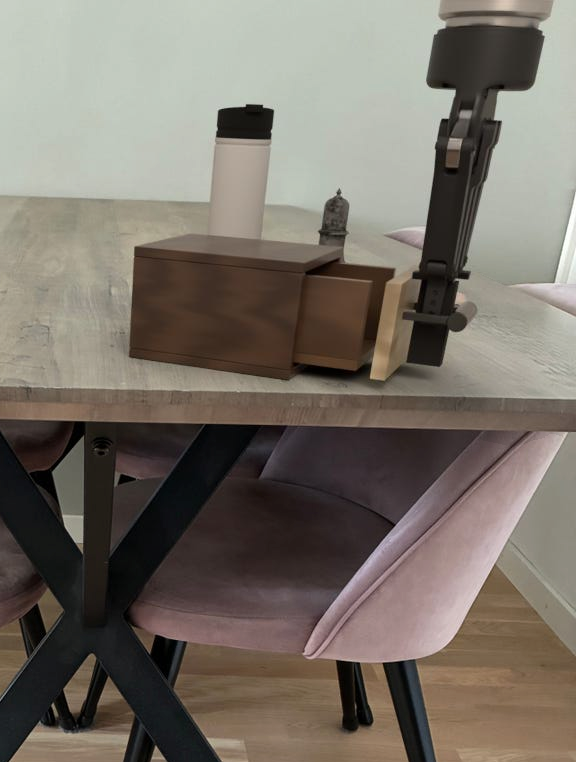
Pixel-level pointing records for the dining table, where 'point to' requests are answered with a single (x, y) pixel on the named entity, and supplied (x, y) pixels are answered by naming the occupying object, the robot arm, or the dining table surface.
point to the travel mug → (240, 171)
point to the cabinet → (222, 302)
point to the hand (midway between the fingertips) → (424, 362)
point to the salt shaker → (334, 222)
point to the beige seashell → (460, 299)
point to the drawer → (363, 317)
